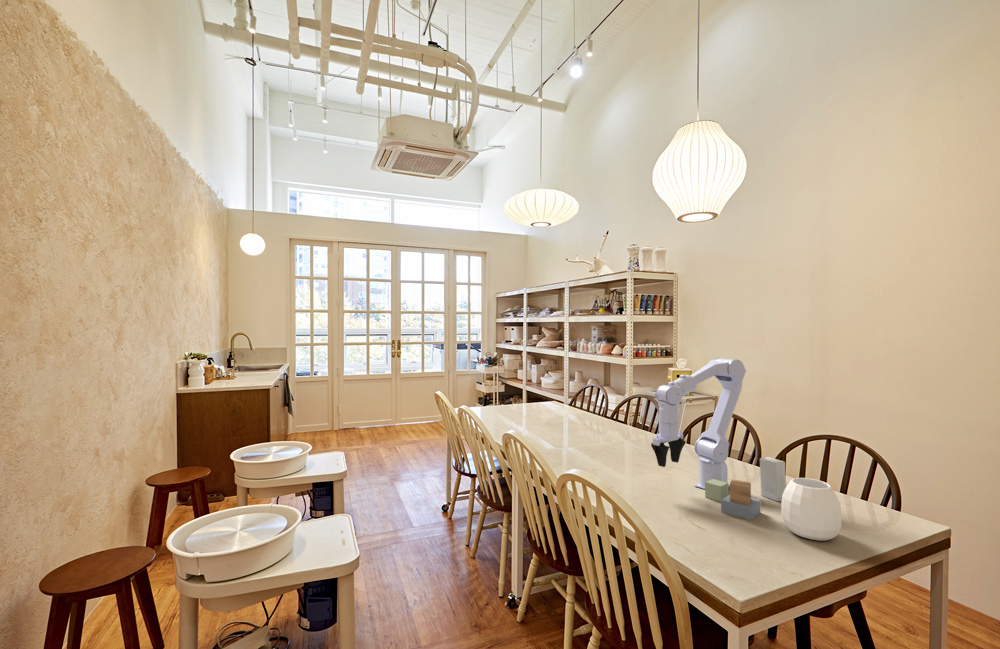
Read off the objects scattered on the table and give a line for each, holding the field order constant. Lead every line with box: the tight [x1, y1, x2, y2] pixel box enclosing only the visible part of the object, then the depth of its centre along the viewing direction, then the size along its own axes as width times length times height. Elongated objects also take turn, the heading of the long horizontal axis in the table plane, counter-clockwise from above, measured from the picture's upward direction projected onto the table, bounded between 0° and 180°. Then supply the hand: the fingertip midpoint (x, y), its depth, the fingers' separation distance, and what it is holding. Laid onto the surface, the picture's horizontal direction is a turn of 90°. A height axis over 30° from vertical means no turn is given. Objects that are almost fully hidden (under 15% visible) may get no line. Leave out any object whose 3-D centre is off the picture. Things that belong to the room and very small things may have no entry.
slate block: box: [720, 493, 761, 521], centre depth 136 cm, size 8×8×4 cm
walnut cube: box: [729, 479, 752, 505], centre depth 136 cm, size 5×5×5 cm
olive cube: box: [704, 479, 730, 503], centre depth 147 cm, size 5×5×5 cm
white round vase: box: [780, 477, 843, 542], centre depth 122 cm, size 13×13×14 cm
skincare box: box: [759, 456, 787, 502], centre depth 147 cm, size 6×4×12 cm
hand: (668, 464), depth 152 cm, fingers open, 7 cm apart
